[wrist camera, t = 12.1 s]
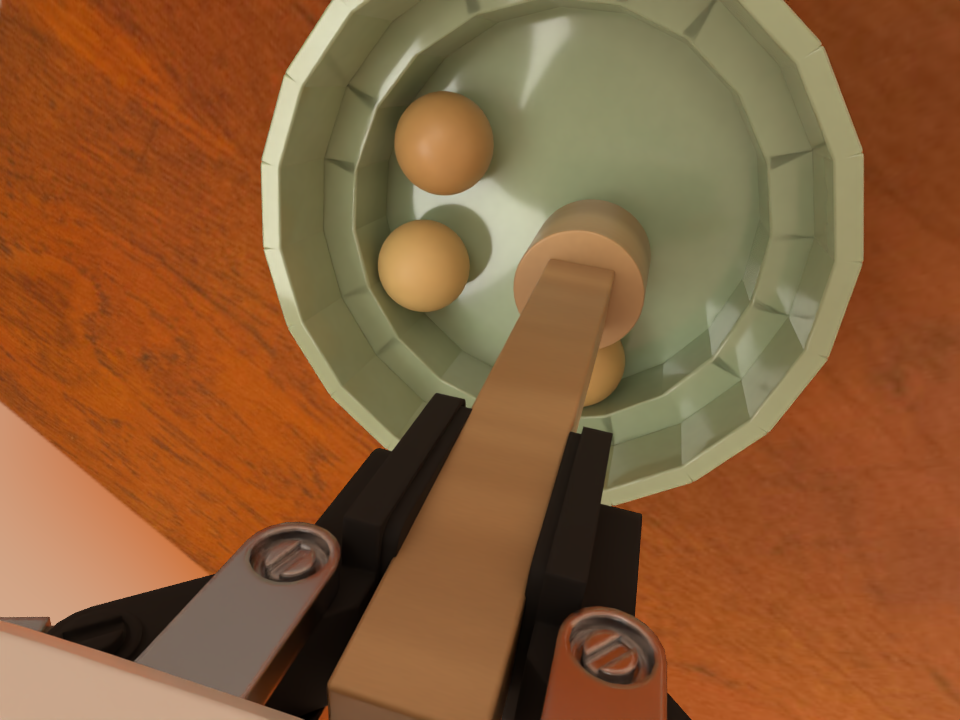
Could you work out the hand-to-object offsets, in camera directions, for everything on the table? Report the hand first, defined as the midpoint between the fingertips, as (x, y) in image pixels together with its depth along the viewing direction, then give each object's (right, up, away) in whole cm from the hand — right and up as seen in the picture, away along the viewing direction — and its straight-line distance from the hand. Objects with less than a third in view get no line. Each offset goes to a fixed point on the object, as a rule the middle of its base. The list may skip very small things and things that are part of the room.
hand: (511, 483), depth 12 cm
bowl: (+2, +7, +10) cm, 13 cm away
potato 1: (-2, +9, +8) cm, 12 cm away
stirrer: (+3, +6, +8) cm, 11 cm away
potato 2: (-2, +5, +10) cm, 11 cm away
